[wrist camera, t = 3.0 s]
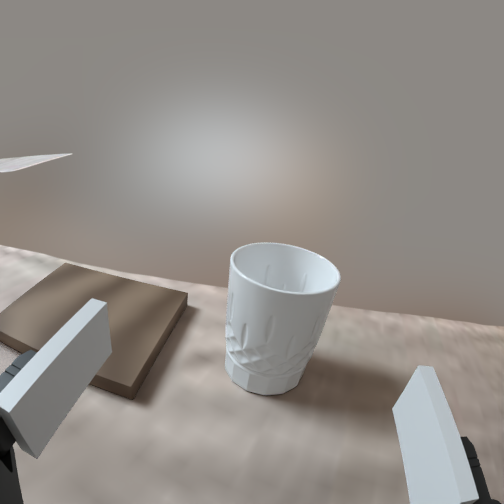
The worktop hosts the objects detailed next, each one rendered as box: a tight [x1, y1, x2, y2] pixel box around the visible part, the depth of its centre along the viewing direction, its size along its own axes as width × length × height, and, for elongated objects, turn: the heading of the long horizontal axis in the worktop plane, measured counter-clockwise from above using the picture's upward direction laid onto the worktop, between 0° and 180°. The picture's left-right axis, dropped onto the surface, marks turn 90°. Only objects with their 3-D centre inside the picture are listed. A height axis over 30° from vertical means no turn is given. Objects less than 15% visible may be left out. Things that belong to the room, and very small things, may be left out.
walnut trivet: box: [0, 263, 188, 400], centre depth 28 cm, size 16×14×2 cm
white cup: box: [225, 243, 341, 395], centre depth 25 cm, size 8×8×10 cm
